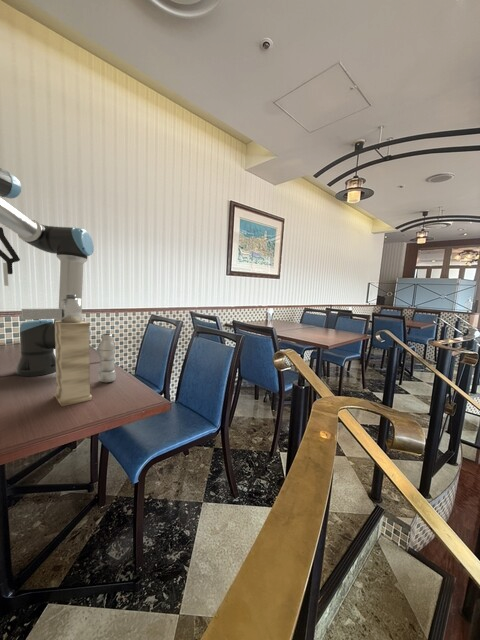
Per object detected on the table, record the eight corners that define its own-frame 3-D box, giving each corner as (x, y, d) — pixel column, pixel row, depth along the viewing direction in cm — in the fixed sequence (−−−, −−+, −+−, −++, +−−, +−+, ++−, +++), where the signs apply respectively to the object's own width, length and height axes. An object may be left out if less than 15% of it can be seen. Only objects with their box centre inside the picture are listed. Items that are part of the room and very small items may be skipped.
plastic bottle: (109, 385, 106) (108, 336, 104) (94, 383, 107) (93, 334, 105) (119, 380, 112) (119, 333, 110) (105, 378, 114) (105, 332, 112)
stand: (54, 395, 93) (52, 320, 91) (83, 390, 100) (82, 319, 97) (61, 406, 86) (59, 324, 83) (92, 399, 92) (91, 323, 89)
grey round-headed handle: (21, 322, 83) (20, 293, 82) (79, 320, 94) (78, 294, 93) (23, 325, 79) (22, 294, 78) (84, 322, 90) (83, 295, 89)
